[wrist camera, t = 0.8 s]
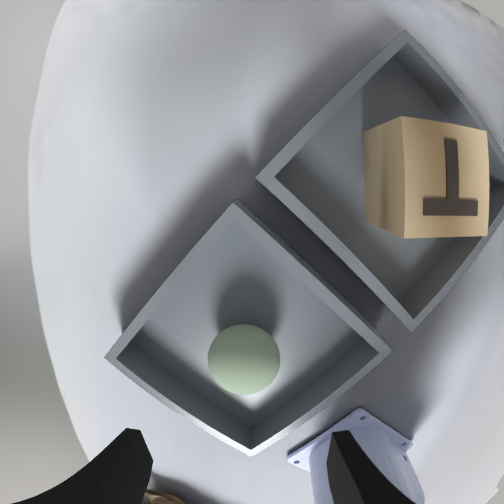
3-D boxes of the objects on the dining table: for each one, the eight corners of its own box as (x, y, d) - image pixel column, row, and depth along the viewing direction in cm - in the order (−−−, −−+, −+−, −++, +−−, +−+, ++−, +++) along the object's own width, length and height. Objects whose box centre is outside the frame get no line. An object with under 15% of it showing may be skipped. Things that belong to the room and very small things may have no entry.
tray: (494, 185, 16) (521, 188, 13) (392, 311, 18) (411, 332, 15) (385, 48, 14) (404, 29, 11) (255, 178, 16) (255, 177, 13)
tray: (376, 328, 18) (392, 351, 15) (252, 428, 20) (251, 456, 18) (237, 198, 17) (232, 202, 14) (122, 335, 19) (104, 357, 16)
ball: (292, 340, 18) (299, 378, 14) (248, 378, 19) (245, 419, 15) (242, 299, 17) (238, 332, 13) (200, 342, 18) (186, 380, 14)
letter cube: (435, 139, 15) (487, 131, 10) (437, 220, 16) (488, 236, 11) (362, 132, 15) (402, 115, 10) (365, 221, 16) (404, 238, 11)
